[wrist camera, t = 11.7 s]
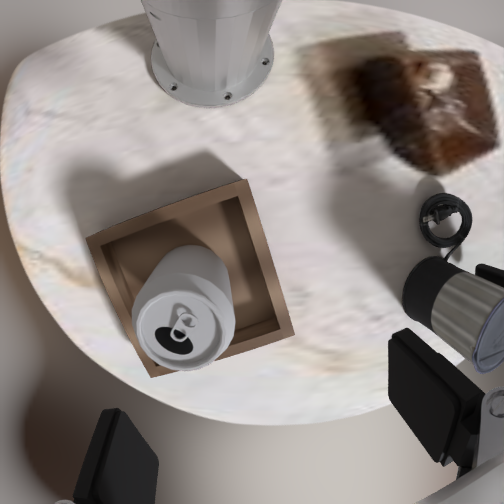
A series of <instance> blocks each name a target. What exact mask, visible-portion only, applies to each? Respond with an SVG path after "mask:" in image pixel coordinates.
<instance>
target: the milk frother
mask: <svg viewBox="0 0 504 504" xmlns="http://www.w3.org/2000/svg"><path fill="white" fill-rule="evenodd" d="M440 204H444V205H440ZM438 205H439V206H438ZM457 212H460V214H461V216H462V223H461V226H460V228H459V230H458V231H457V233H456V234H455V235H453V236H452V237H450V238H440V237H437V236H435V235H434V234H433V233H432V232H431V231H430V228H429V225H428V222H429V221H431V220H433V221H434V222H435V223H436V224H437V225H439V224H440V222H439V221H441V220H444V219H445V218H447V217H448V216H451V214H452V213H457ZM419 222H420V227H421V231H422V233H423V235H424V237H425V239H426V240H427V241H428V242H430V243H431V244H432V245H434V246H436V247H440V248H446V247H451V246H453V245H455V246H454V248H453V249H452V250H451V251H450V252H449V253H448V254H447V255H446V256H445V258H444V259H443V258H442V257H437V256H434V257H429V258H427V259H425V260H423V261H422V262H420V263H419V264H418V265H417V266H416V267H415V268H414V269H413V271H412V272H411V274H410V275H409V277H408V279H407V281H406V284H405V287H404V291H403V306H404V309H405V312H406V313H407V315H408V316H409V317H410V318H411V319H413V320H415V321H418V322H420V323H421V324H423V325H424V326H426V327H427V328H428V329H430V330H431V331H432V332H434V333H435V334H436V335H438V336H439V337H440V338H441V339H442V340H443V341H445V342H446V343H447V344H448V345H450V346H451V347H452V348H453V349H455V350H456V351H457V352H458V353H460V354H461V355H462V356H463V357H464V358H466V359H467V360H468V361H469V362H471V363H472V364H473V365H474V367H475V370H476V371H477V372H478V373H480V374H484V373H488V372H491V371H492V370H494V369H495V368H497V367H498V366H499V365H500V364H501V363H502V362H503V361H504V270H501V269H498V268H495V267H492V266H488V265H485V264H478V265H477V266H476V269H475V275H474V274H471V273H469V272H467V271H464V270H462V269H460V268H458V267H456V266H455V265H453V264H451V263H448V262H447V260H448V258H449V257H450V255H451V254H452V253H453V251H454V250H455V249H456V248H457V247H458V246H459V245H461V243H462V242H463V241H464V240H465V238H466V237H467V235H468V233H469V231H470V229H471V226H472V213H471V211H470V209H469V207H468V205H467V204H466V203H465V202H464V201H463V200H461V199H460V198H459V197H456V196H454V195H451V194H447V193H439V194H436V195H434V196H432V197H430V198H429V199H428V200H427V201H426V202H425V203H424V205H423V207H422V209H421V212H420V221H419Z"/></svg>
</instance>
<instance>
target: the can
mask: <svg viewBox="0 0 504 504" xmlns="http://www.w3.org/2000/svg"><path fill="white" fill-rule="evenodd" d="M132 326H133V329H134V332H135V334H136V337H137V339H138V342H139V344H140V346H141V348H142V349H143V350H144V352H145V353H146V354H147V356H148V357H150V358H151V359H152V360H154V361H155V362H156V363H158V364H159V365H161V366H164V367H166V368H169V369H172V370H179V371H191V370H197V369H201V368H203V367H205V366H207V365H209V364H211V363H212V362H213V361H214V360H215V359H217V358H218V357H219V356H220V355H221V354H222V353H223V352H224V351H225V350H226V349H227V348H228V346H229V344H230V342H231V340H232V338H233V336H234V329H235V315H234V308H233V301H232V294H231V287H230V280H229V275H228V271H227V268H226V266H225V264H224V263H223V261H222V259H221V258H220V257H219V256H217V255H216V254H215V253H214V252H213V251H211V250H209V249H207V248H205V247H202V246H197V245H185V246H180V247H176V248H175V249H173V250H171V251H170V252H168V253H167V254H166V255H165V256H164V257H163V258H162V259H161V261H160V262H159V263H158V265H157V266H156V268H155V269H154V271H153V272H152V274H151V275H150V277H149V278H148V280H147V281H146V283H145V284H144V286H143V287H142V289H141V290H140V292H139V293H138V295H137V296H136V299H135V302H134V305H133V308H132Z"/></svg>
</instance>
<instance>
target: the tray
mask: <svg viewBox="0 0 504 504" xmlns="http://www.w3.org/2000/svg"><path fill="white" fill-rule="evenodd" d="M85 239H86V241H87V244H88V247H89V249H90V252H91V254H92V257H93V260H94V262H95V265H96V267H97V269H98V272H99V274H100V277H101V279H102V281H103V284H104V286H105V288H106V291H107V293H108V295H109V297H110V300H111V302H112V304H113V306H114V308H115V310H116V312H117V315H118V317H119V319H120V321H121V323H122V325H123V327H124V329H125V331H126V333H127V335H128V337H129V339H130V341H131V343H132V345H133V346H134V348H135V350H136V352H137V354H138V356H139V358H140V359H141V361H142V363H143V365H144V367H145V368H146V370H147V372H148V374H149V375H150V377H151V378H153V377H157V376H161V375H165V374H169V373H173V372H177V371H179V370H172V369H169V368H166V367H164V366H161V365H159V364H158V363H156V362H155V361H154V360H152V359H151V358H150V357H148V356H147V354H146V353H145V352H144V350H143V349H142V348H141V346H140V344H139V342H138V339H137V337H136V334H135V332H134V329H133V326H132V308H133V305H134V302H135V299H136V296H137V295H138V293H139V292H140V290H141V289H142V287H143V286H144V284H145V283H146V281H147V280H148V278H149V277H150V275H151V274H152V272H153V271H154V269H155V268H156V266H157V265H158V263H159V262H160V261H161V259H162V258H163V257H164V256H165V255H166V254H167V253H168V252H170V251H171V250H173V249H175V248H176V247H180V246H185V245H197V246H202V247H205V248H207V249H209V250H211V251H213V252H214V253H215V254H216V255H217V256H219V257H220V258H221V259H222V261H223V263H224V264H225V266H226V268H227V271H228V275H229V280H230V287H231V294H232V301H233V308H234V315H235V329H234V336H233V338H232V340H231V342H230V344H229V346H228V348H227V349H226V350H225V351H224V352H223V353H222V354H221V355H220V356H219V357H218V358H217V359H215V360H214V361H217V360H220V359H223V358H227V357H230V356H233V355H236V354H240V353H243V352H246V351H249V350H252V349H255V348H258V347H261V346H264V345H267V344H270V343H273V342H276V341H279V340H282V339H285V338H288V337H290V336H293V335H295V333H294V330H293V326H292V323H291V320H290V316H289V313H288V310H287V306H286V303H285V300H284V296H283V293H282V290H281V286H280V283H279V280H278V276H277V273H276V270H275V267H274V263H273V260H272V257H271V253H270V250H269V247H268V244H267V240H266V237H265V234H264V231H263V228H262V224H261V221H260V218H259V215H258V212H257V208H256V205H255V202H254V199H253V196H252V193H251V189H250V186H249V183H248V180H247V179H243V180H239V181H236V182H233V183H230V184H227V185H224V186H221V187H218V188H215V189H212V190H209V191H206V192H203V193H200V194H197V195H194V196H191V197H189V198H186V199H183V200H180V201H177V202H175V203H172V204H169V205H166V206H164V207H161V208H158V209H156V210H153V211H150V212H148V213H145V214H142V215H140V216H137V217H135V218H132V219H130V220H127V221H124V222H122V223H119V224H117V225H115V226H112V227H110V228H107V229H105V230H102V231H100V232H98V233H96V234H93V235H91V236H89V237H87V238H85Z"/></svg>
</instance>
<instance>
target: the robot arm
mask: <svg viewBox="0 0 504 504" xmlns="http://www.w3.org/2000/svg"><path fill="white" fill-rule="evenodd" d="M141 2H142V4H143V6H144V9H145V12H146V14H147V17H148V19H149V22H150V24H151V26H152V29H153V31H154V34H155V36H156V40H155V42H154V45H153V48H152V53H151V64H152V70H153V72H154V75H155V77H156V79H157V81H158V83H159V84H160V86H161V87H162V88H163V89H164V90H165V91H166V92H167V93H168V94H169V95H170V96H172V97H173V98H175V99H176V100H178V101H180V102H182V103H185V104H187V105H191V106H195V107H202V108H217V107H224V106H228V105H232V104H235V103H237V102H239V101H242V100H244V99H246V98H247V97H249V96H250V95H252V94H253V93H254V92H255V91H256V90H257V89H259V88H260V87H261V85H262V84H263V83H264V81H265V80H266V78H267V77H268V75H269V73H270V71H271V68H272V65H273V60H274V48H273V42H272V40H271V37H270V35H269V31H270V28H271V26H272V23H273V21H274V19H275V16H276V14H277V11H278V9H279V6H280V4H281V2H282V0H141ZM262 63H266V65H263V64H262ZM174 87H176V88H177V89H176V90H175V91H173V90H172V89H173V88H174ZM226 96H229V97H230V99H229V100H226V99H225V97H226ZM388 396H389V399H390V401H391V403H392V404H393V405H394V407H395V408H396V409H397V410H398V412H399V414H400V415H401V416H402V418H403V419H404V420H405V422H406V423H407V425H408V426H409V427H410V429H411V430H412V431H413V433H414V434H415V436H416V437H417V438H418V440H419V441H420V442H421V444H422V445H423V446H424V448H425V449H426V451H427V452H428V454H429V455H430V456H431V457H432V459H433V460H434V462H436V463H438V462H440V463H441V464H442V466H443V467H444V466H446V465H448V464H449V463H451V462H452V461H454V462H455V463H456V464H457V466H459V467H458V472H457V477H456V480H455V481H454V482H452V483H451V484H449V485H447V486H446V487H444V488H442V489H440V490H439V491H437V492H435V493H433V494H431V495H430V496H428V497H426V498H424V499H422V500H420V501H418V502H416V503H415V504H504V387H497V388H494V389H492V390H490V391H489V392H488V393H487V394H485V393H484V392H483V391H482V390H481V389H479V388H478V387H477V386H476V385H475V384H474V383H473V382H472V381H471V380H470V379H468V378H467V377H466V376H465V375H464V374H463V373H462V372H461V371H460V370H458V369H457V368H456V367H455V366H454V365H453V364H452V363H451V362H450V361H448V360H447V359H446V358H445V357H444V356H443V355H441V354H440V353H437V352H436V351H434V350H433V349H432V348H431V347H430V346H429V345H428V344H426V343H425V342H424V341H423V340H422V339H421V338H420V337H418V336H417V335H416V334H415V333H414V332H413V331H411V330H410V329H409V328H405V329H403V330H400V331H398V332H396V333H394V334H392V339H390V340H389V341H388ZM158 466H159V461H158V457H157V456H156V454H155V453H154V452H153V450H152V449H151V448H150V446H149V445H148V444H147V442H146V441H145V440H144V438H143V437H142V435H141V434H140V433H139V432H138V430H137V429H136V427H135V426H134V424H133V423H132V421H131V420H130V418H129V417H128V415H127V414H126V413H125V412H123V411H121V410H120V409H119V408H114V409H104V410H103V411H102V413H101V415H100V418H99V420H98V423H97V426H96V429H95V431H94V434H93V437H92V440H91V442H90V445H89V448H88V451H87V454H86V456H85V460H84V462H83V465H82V468H81V472H80V474H79V478H78V481H77V484H76V487H75V490H74V494H73V498H74V501H73V502H72V501H68V500H61V501H58V502H56V503H54V504H155V494H156V485H157V476H158Z"/></svg>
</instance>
